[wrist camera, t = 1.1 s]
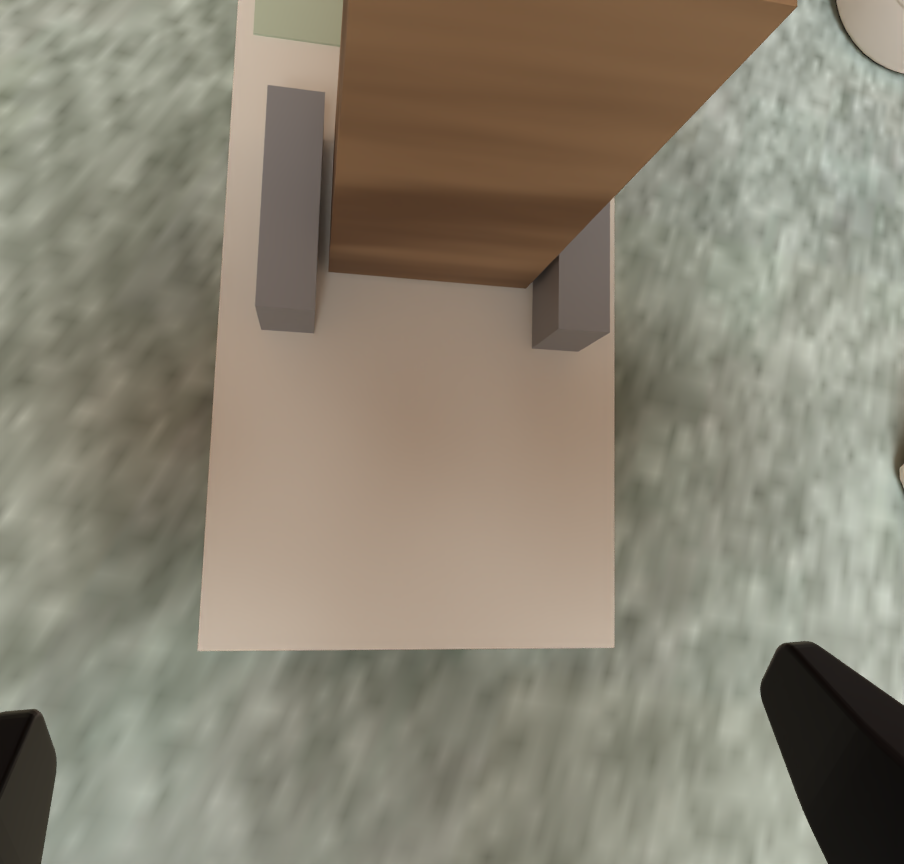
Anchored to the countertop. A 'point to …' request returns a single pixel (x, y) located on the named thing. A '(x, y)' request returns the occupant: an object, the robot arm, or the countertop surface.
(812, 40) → the countertop surface
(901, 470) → the pepper shaker
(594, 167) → the walnut block
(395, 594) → the pink base plate
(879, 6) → the cup
